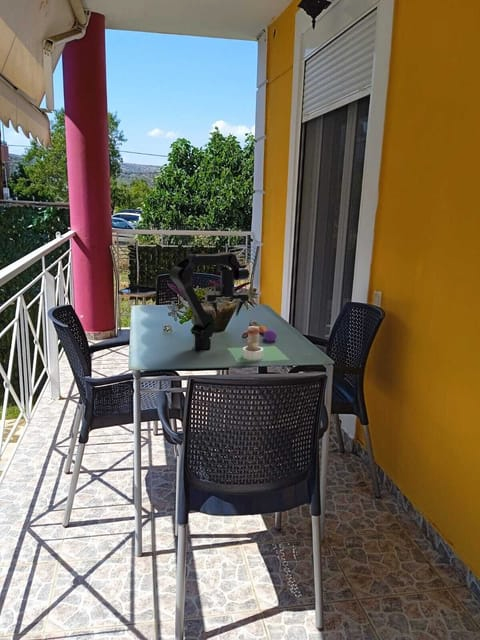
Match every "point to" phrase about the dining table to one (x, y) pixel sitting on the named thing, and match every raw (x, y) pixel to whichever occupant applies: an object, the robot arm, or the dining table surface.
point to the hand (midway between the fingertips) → (226, 316)
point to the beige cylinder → (253, 338)
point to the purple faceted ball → (268, 334)
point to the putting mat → (269, 354)
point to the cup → (252, 353)
